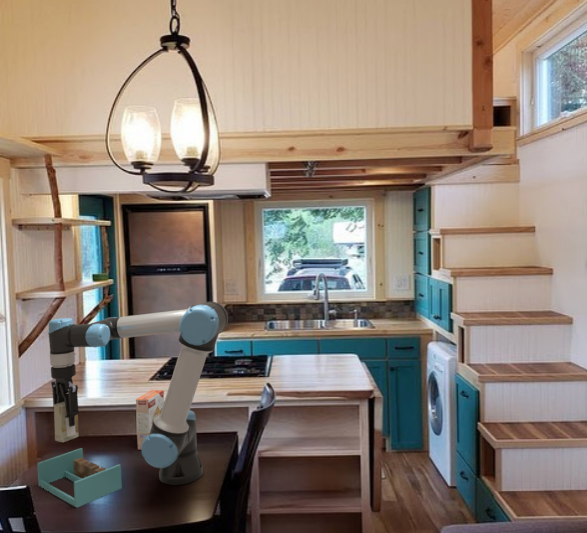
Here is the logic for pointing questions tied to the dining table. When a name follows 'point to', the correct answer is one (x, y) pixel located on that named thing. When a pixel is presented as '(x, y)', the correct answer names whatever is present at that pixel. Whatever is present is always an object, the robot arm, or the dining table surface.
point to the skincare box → (63, 423)
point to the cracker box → (147, 413)
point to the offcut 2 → (99, 470)
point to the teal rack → (78, 479)
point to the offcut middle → (89, 469)
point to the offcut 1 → (79, 467)
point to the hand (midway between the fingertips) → (67, 433)
